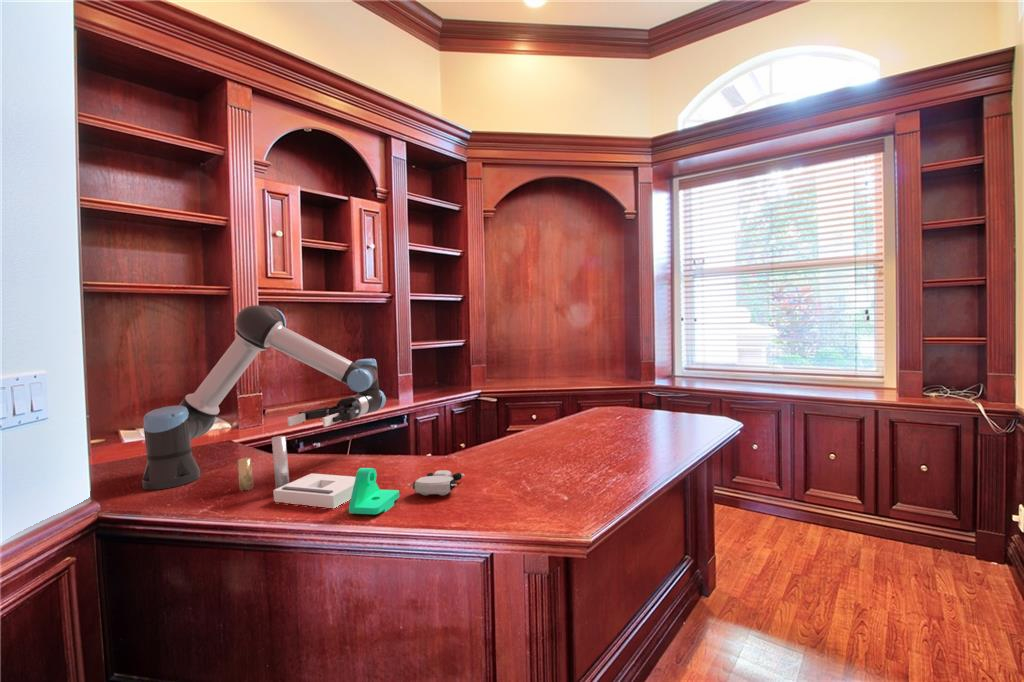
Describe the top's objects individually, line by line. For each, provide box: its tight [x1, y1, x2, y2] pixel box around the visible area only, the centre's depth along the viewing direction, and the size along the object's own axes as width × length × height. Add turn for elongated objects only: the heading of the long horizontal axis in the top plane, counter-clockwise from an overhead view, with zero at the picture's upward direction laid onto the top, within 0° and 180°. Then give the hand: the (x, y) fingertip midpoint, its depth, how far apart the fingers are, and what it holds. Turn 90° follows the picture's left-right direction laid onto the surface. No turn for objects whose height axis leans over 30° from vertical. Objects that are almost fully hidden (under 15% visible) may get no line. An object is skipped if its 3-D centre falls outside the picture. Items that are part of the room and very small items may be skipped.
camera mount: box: [348, 467, 400, 515], centre depth 124 cm, size 12×8×10 cm, turn 166°
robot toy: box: [407, 469, 465, 497], centre depth 134 cm, size 12×4×15 cm
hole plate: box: [272, 472, 356, 510], centre depth 134 cm, size 20×14×4 cm
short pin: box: [236, 456, 255, 491], centre depth 144 cm, size 4×4×9 cm
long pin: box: [271, 435, 290, 489], centre depth 139 cm, size 4×4×16 cm
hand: (305, 422), depth 147 cm, fingers open, 13 cm apart
